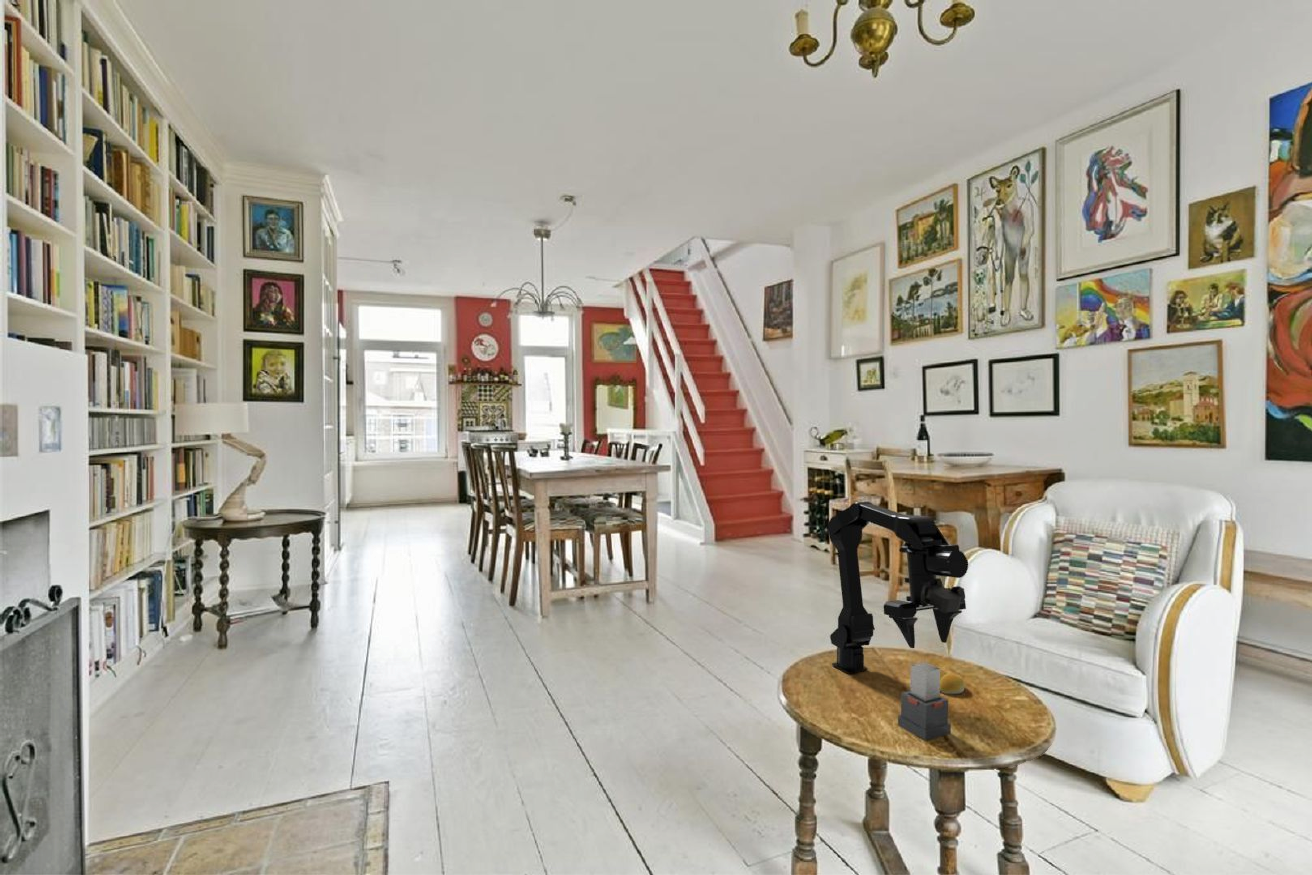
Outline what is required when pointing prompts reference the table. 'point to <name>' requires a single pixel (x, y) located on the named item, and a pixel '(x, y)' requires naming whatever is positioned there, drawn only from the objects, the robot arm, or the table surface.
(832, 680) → the table surface
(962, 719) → the table surface
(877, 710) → the table surface
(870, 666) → the table surface
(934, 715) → the dark grey box
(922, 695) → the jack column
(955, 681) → the bread roll
